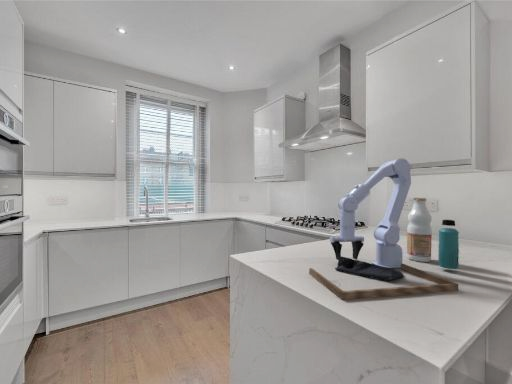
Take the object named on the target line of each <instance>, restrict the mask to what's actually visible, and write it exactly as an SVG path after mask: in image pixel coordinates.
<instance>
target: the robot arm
mask: <svg viewBox="0 0 512 384" xmlns="http://www.w3.org/2000/svg"><path fill="white" fill-rule="evenodd" d="M411 170H412V165H411V164H410V162H409V161H408V160H407V159H405V158H397V159H393V160H392V159H391V160H387V161H385V162H384V163H383V164H381V165H380V166H379V167H378V168H377V169H376V170H375V172H374V173H373V174H371V175H370V177H369V178H368V179H366V181H365V182H364V183H359V184H355V185H354V186H353V188H354V189H352V190H351V191H350V192H349V193H346V194H345V197H342V198H341V199H340V200H339V202H338V205H337V206H338V208H339V210H340V213H339V214H340V217H339V236H329V242H330V245H331V247H332V249H333V250H334V251H333V252H334V254H335V258H336V259H335V260H337V261H338V260H339V257H341V255H342V247H343V244H342V243H345V242H346V243H351V246H352V247H351V248H352V259H353V260H358V257H359V255H360V251H361V250H362V248H363V247H364V242H365V236H358V235H357V236H356V235H355V232H356V231H355V229H356V228H355V224H356V223H355V222H356V210H357V209H358V208H359V204H361V203H362V202H363V201H364V200H365V199H366V198H367V197H368V196H370V194H371V189H372V188H374V186H375V187H376V185H377V184H378V183H379V182H381V181H382V180H383V179H384V178H385V177H388V178H389V179H391V180H392V182H393V183H394V187H393V190H392V193H391V196H390V198H389V202H388V204H387V208H386V210H385V214H384V216H383V219H382V220H380V222H379V223H378V225H377V227H375V228H374V230H373V237H374V239H375V241H376V245H375V247H376V248H375V249H376V250H375V252H376V253H375V261H371V263H370V264H374V265H379V266H383V267H387V268H391V269H395V268H397V269H398V268H399V269H400V268H401V264H403V249H402V246H401V245H399V244H398V243H399V241H400V238H401V237H400V236H401V235H400V231H401V228H400V226H399V220H400V218H401V215H402V212H403V208H404V205H405V203H406V200H407V196H408V194H409V191H410V187H411V185H412V178H411Z"/></svg>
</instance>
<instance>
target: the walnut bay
mask: <svg viewBox="0 0 512 384" xmlns="http://www.w3.org/2000/svg"><path fill="white" fill-rule="evenodd" d="M400 269H401V270H404V271H405V272H408V273H410V274H412V275H416V276H417V277H421V278H423V279H425V280H428V281H430V282H433V283H435V284H425V285H423V284H422V285H410V286H397V287H396V286H395V287H382V288H369V289H354V290H342V289H341V288H340V287H339V286H337V285H335V284H334V283H333V282H332V281H330V280H328V278H326V277H324V275H322V274H320V273H319V272H318V271H316V269H314V268H309V269H308V271H309V272H308V274H309V275H310V276H311V277H312V278H313V279H315V280H316V281H317V282H319V283H320V284H321V285H323V286H324V287H325V288H326V289H328V291H330V292H332V294H334V295H335V296H336V297H338V298H339V299H340V300H341V301H342V300H344V301H345V300H356V299H357V300H358V299H359V300H360V299H370V298H378V297H379V298H380V297H382V298H383V297H394V296H407V295H421V294H431V293H433V294H434V293H444V292H445V293H446V292H457V291H459V283H456V282H454V281H450V280H448V279H446V278H443V277H440V276H438V275H434V274H432V273H429V272H427V271H424V270H421V269H418V268H416V267H413V266H410V265H408V264H406V263H402V264H401V267H400Z"/></svg>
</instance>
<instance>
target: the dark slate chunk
mask: <svg viewBox="0 0 512 384" xmlns="http://www.w3.org/2000/svg"><path fill="white" fill-rule="evenodd" d="M334 269H335V270H336V271H339V272H343V273H346V274H347V273H348V274H352V275H355V276H362V277H366V278H370V279H376V280H380V281H391V280H394V279H395V280H396V279H397V278H401V277H404V273H403V272H402V271H399V270H397V269H395V268H387V267H383V266H379V265H375V264H373V263H369V262H367V261H362V260H359V259H357V260H356V259H353V258H349V257H345V256H341V257H339V260H337V266H336V267H335V268H334Z"/></svg>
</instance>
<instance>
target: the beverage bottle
mask: <svg viewBox="0 0 512 384" xmlns="http://www.w3.org/2000/svg"><path fill="white" fill-rule="evenodd" d="M441 225H442V226H449V227H442V228H440V229H439V230H438V249H437V250H438V260H437V262H438V267H441V268H443V269H448V270H458V269H459V265H460V264H459V263H460V262H459V259H460V257H459V254H460V249H459V247H460V243H459V233H460V232H459V231H458V230H457V229H456V228H452V227H456V221H455V220H453V219H443V220H442V221H441ZM450 226H451V228H450Z"/></svg>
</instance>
